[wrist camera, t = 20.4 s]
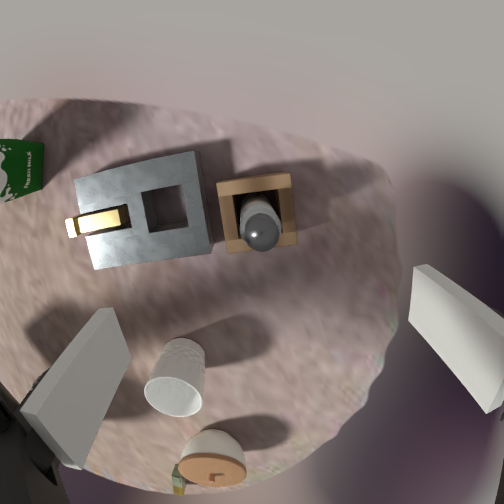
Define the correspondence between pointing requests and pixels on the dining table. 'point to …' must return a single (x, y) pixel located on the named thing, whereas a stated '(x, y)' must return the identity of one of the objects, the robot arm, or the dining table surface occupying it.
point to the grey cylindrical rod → (259, 223)
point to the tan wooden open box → (254, 184)
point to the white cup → (177, 379)
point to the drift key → (96, 220)
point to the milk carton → (20, 168)
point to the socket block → (147, 211)
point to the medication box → (178, 481)
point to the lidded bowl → (213, 459)
